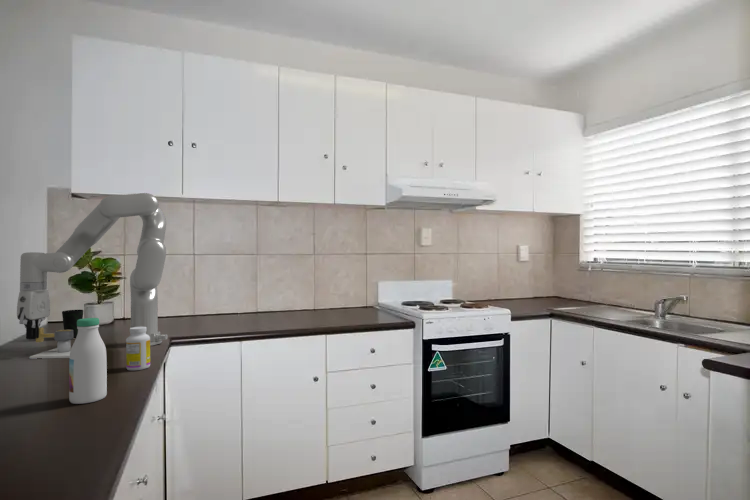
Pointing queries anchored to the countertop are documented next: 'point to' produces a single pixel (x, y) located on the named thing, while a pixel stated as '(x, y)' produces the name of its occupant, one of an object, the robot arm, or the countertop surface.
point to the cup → (72, 320)
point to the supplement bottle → (138, 349)
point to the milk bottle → (87, 364)
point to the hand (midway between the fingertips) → (32, 338)
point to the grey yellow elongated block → (55, 335)
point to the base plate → (56, 351)
